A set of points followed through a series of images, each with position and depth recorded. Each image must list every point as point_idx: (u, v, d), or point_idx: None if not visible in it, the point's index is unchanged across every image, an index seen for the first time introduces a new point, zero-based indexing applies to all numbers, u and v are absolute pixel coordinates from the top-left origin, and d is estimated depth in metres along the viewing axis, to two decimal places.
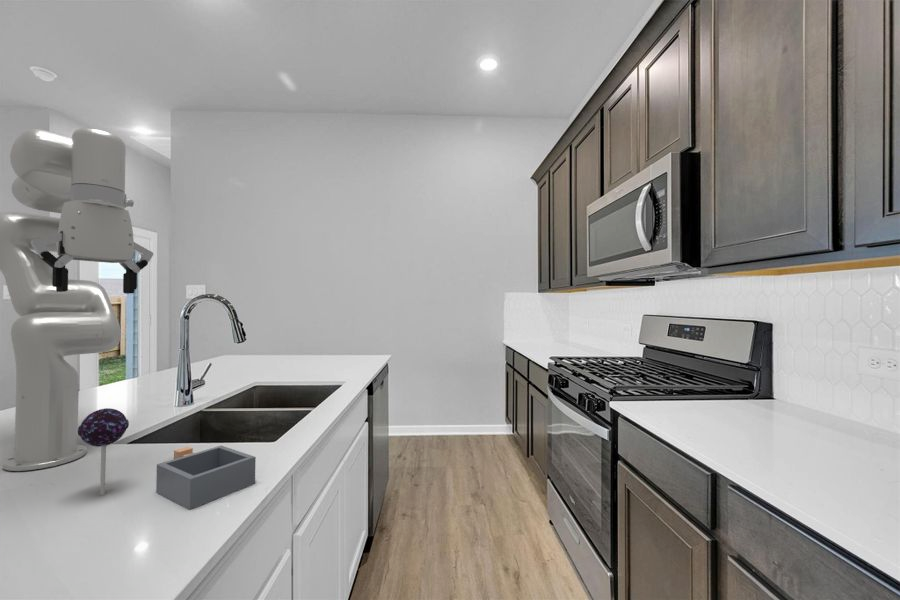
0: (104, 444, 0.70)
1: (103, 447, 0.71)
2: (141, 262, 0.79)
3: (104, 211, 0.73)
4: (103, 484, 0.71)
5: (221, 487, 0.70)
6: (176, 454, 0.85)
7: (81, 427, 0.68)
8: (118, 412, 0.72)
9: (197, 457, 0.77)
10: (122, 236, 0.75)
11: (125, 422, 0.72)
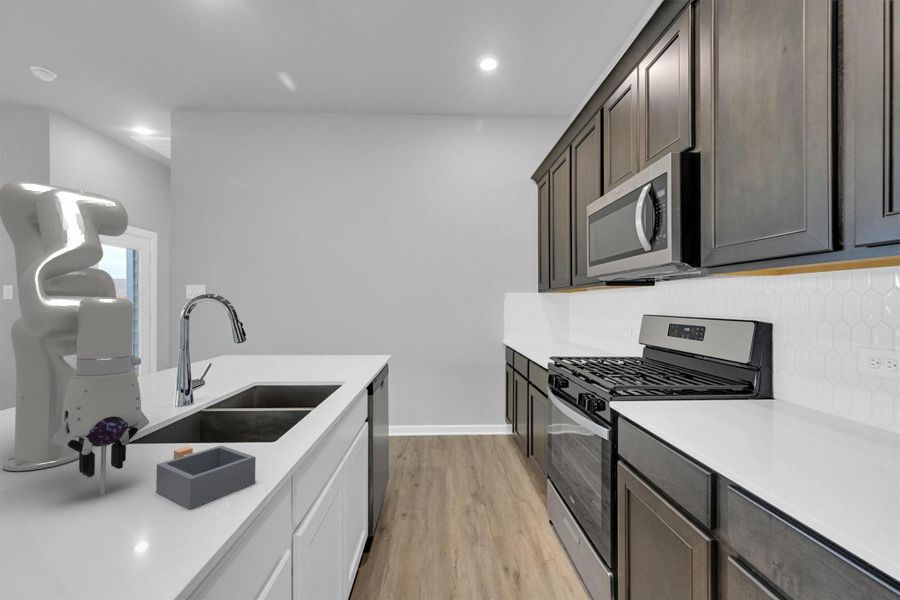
0: (104, 444, 0.70)
1: (103, 447, 0.71)
2: (130, 431, 0.74)
3: (111, 382, 0.70)
4: (103, 484, 0.71)
5: (221, 487, 0.70)
6: (176, 454, 0.85)
7: None
8: None
9: (197, 457, 0.77)
10: (129, 402, 0.72)
11: (125, 422, 0.72)
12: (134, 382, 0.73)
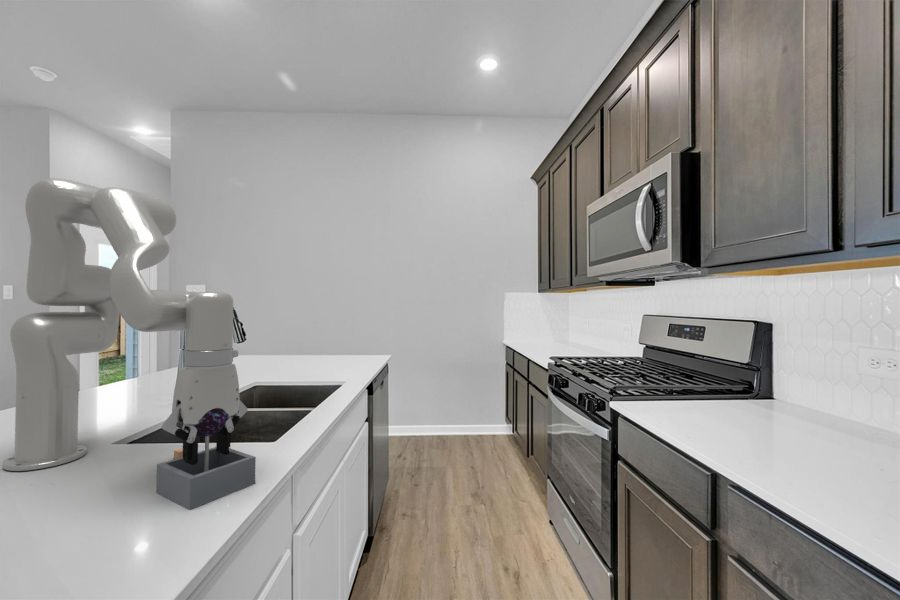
0: (209, 434, 0.72)
1: (207, 437, 0.73)
2: (234, 419, 0.77)
3: (216, 373, 0.73)
4: None
5: (221, 487, 0.70)
6: (176, 454, 0.85)
7: None
8: None
9: None
10: (231, 393, 0.75)
11: (226, 413, 0.75)
12: (234, 374, 0.76)
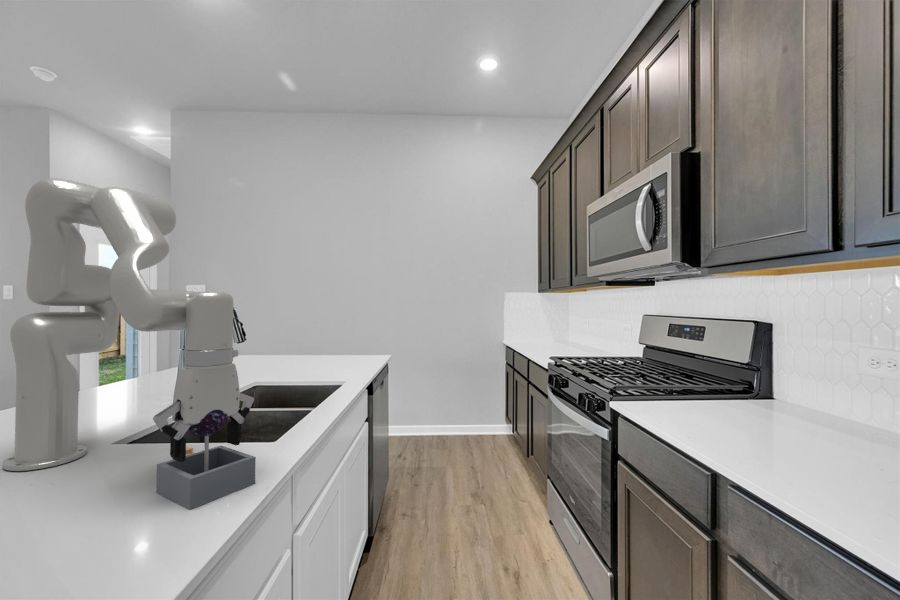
0: (209, 434, 0.72)
1: (206, 437, 0.74)
2: (244, 411, 0.79)
3: (217, 373, 0.73)
4: None
5: (221, 487, 0.70)
6: None
7: None
8: None
9: (197, 457, 0.77)
10: (231, 392, 0.75)
11: None
12: (234, 373, 0.76)
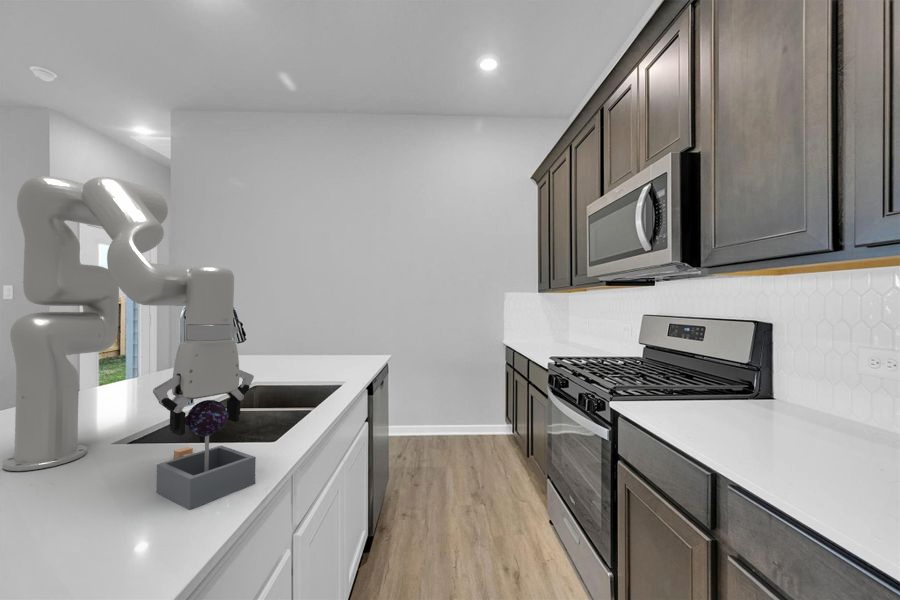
0: (209, 434, 0.72)
1: (207, 437, 0.73)
2: (244, 388, 0.79)
3: (217, 348, 0.73)
4: None
5: (221, 487, 0.70)
6: (176, 454, 0.85)
7: (189, 417, 0.71)
8: (220, 403, 0.75)
9: (197, 457, 0.77)
10: (231, 368, 0.75)
11: (226, 413, 0.75)
12: (234, 349, 0.76)
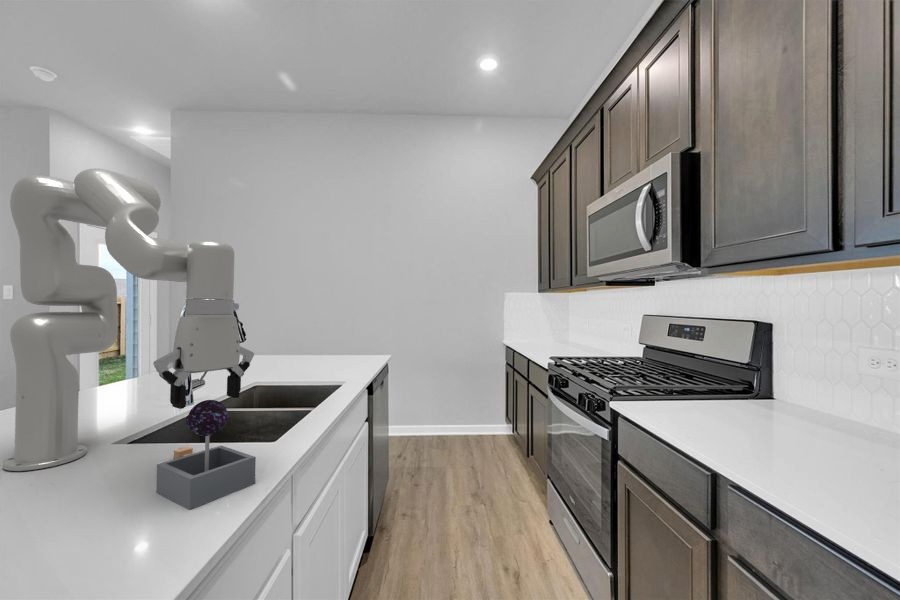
0: (210, 434, 0.72)
1: (207, 437, 0.74)
2: (244, 364, 0.79)
3: (217, 323, 0.73)
4: None
5: (221, 487, 0.70)
6: (176, 454, 0.85)
7: (190, 417, 0.71)
8: (221, 403, 0.75)
9: (197, 457, 0.77)
10: (231, 344, 0.75)
11: (227, 413, 0.75)
12: (235, 325, 0.76)
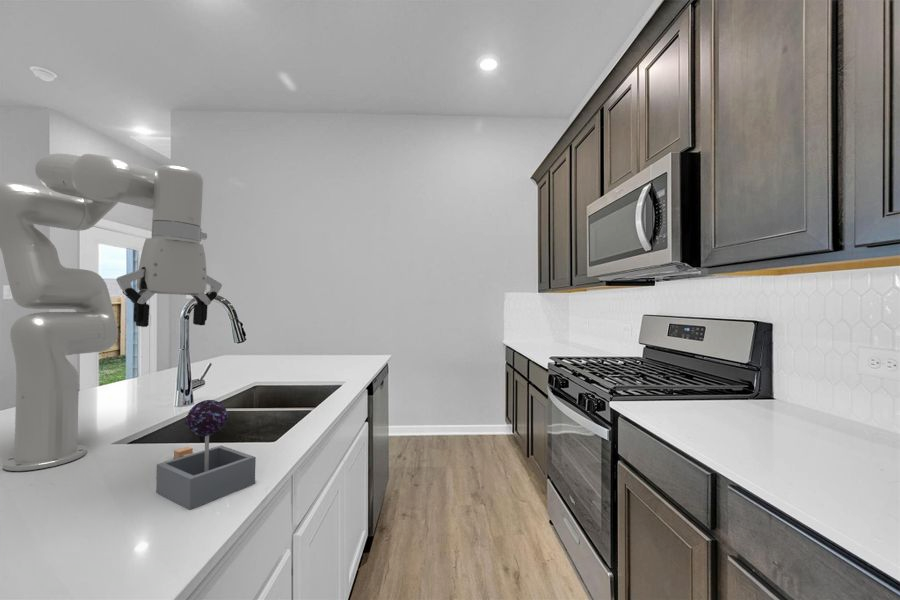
0: (209, 434, 0.72)
1: (207, 437, 0.74)
2: (211, 294, 0.80)
3: (183, 247, 0.74)
4: None
5: (221, 487, 0.70)
6: (176, 454, 0.85)
7: (189, 417, 0.71)
8: (220, 403, 0.75)
9: (197, 457, 0.77)
10: (197, 270, 0.76)
11: (226, 413, 0.75)
12: (202, 253, 0.77)
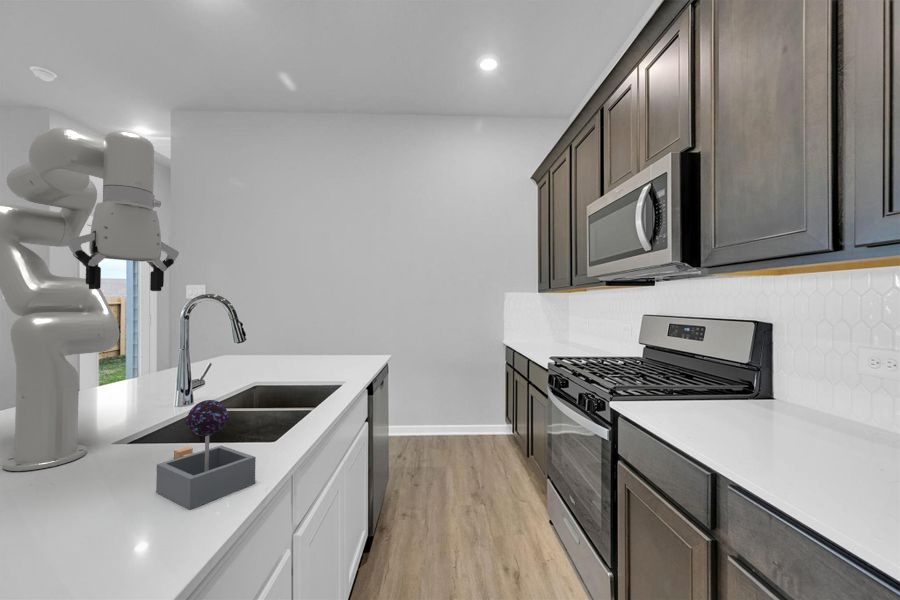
0: (210, 434, 0.72)
1: (207, 437, 0.74)
2: (167, 261, 0.82)
3: (134, 212, 0.75)
4: None
5: (221, 487, 0.70)
6: (176, 454, 0.85)
7: (190, 417, 0.71)
8: (220, 403, 0.75)
9: (197, 457, 0.77)
10: (151, 236, 0.78)
11: (227, 413, 0.75)
12: (155, 219, 0.78)
